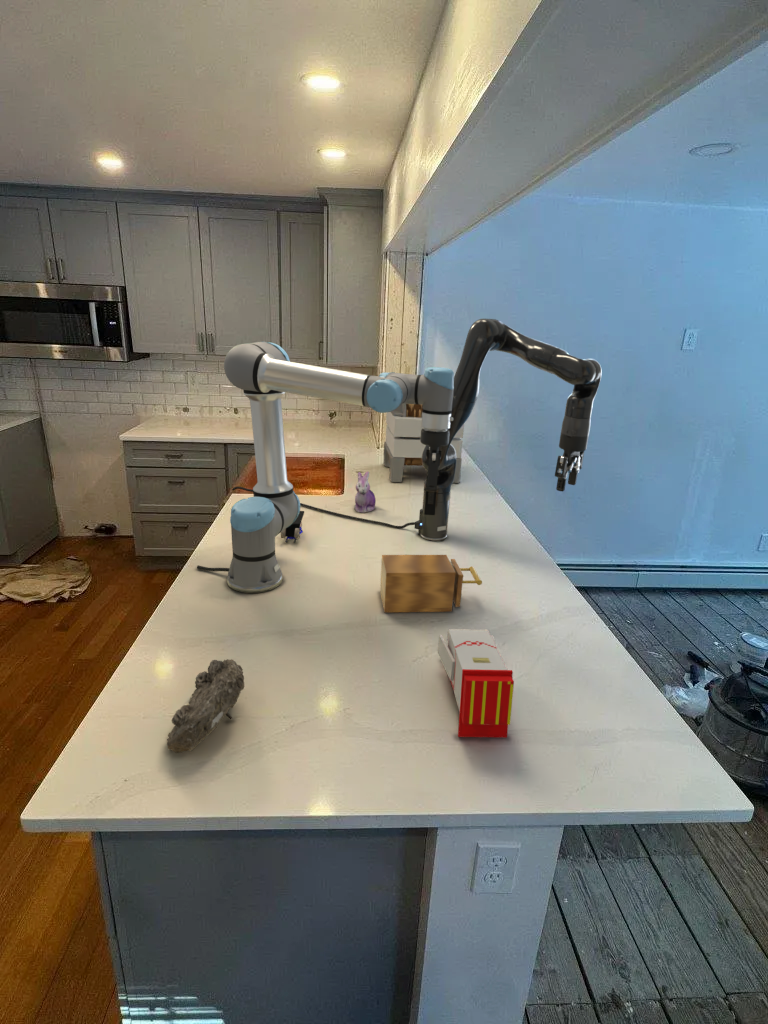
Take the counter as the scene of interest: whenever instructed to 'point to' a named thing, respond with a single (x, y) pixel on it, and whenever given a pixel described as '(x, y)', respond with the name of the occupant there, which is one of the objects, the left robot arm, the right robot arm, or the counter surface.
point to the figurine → (364, 494)
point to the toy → (478, 682)
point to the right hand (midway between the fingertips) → (565, 487)
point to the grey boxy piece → (410, 441)
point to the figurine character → (293, 529)
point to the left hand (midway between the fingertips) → (429, 506)
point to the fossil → (206, 705)
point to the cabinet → (417, 583)
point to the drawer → (459, 581)
